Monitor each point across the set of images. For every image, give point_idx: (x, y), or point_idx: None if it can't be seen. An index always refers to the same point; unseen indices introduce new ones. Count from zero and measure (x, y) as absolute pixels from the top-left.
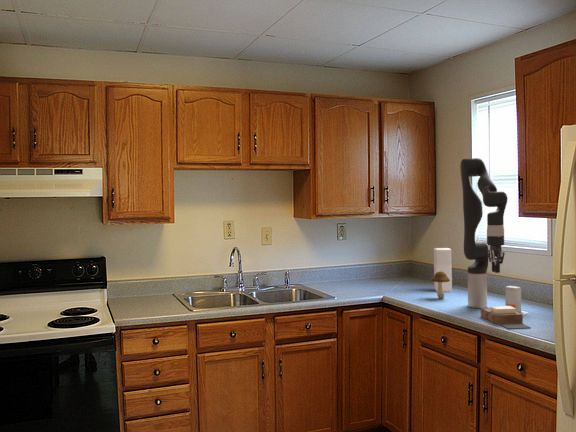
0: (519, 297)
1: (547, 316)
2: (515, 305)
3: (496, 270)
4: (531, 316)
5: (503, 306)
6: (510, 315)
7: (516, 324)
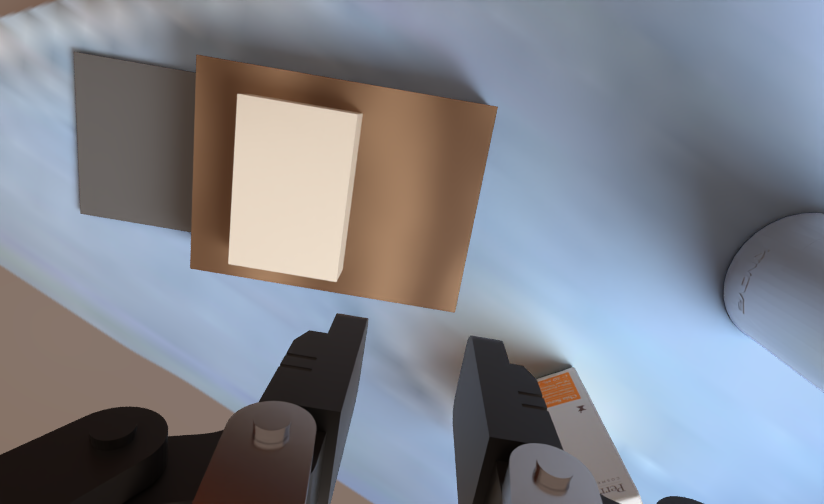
0: None
1: (347, 480)
2: None
3: (306, 343)
4: (375, 408)
5: (329, 223)
6: (195, 176)
7: (168, 177)
